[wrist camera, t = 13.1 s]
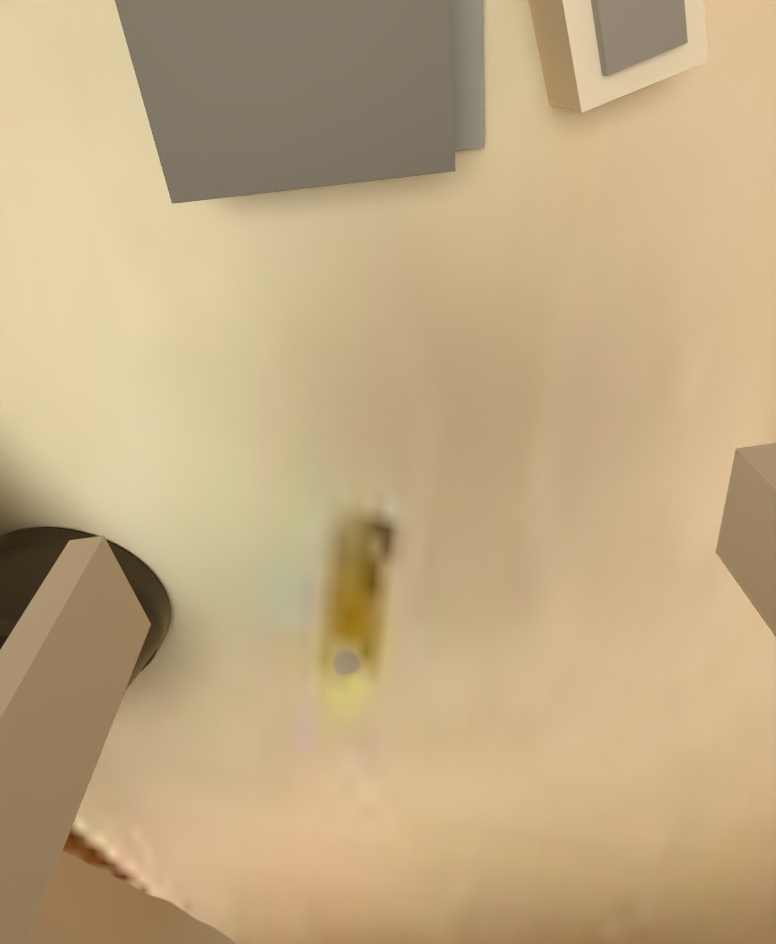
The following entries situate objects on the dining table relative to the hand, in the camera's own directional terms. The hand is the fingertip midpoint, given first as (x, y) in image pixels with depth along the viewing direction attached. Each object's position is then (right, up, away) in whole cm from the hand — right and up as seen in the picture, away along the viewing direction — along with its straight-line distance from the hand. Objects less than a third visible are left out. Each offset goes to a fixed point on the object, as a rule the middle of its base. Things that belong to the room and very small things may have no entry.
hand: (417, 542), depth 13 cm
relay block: (+9, +23, +15) cm, 28 cm away
